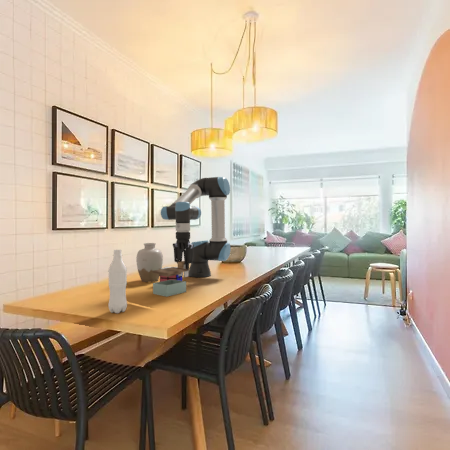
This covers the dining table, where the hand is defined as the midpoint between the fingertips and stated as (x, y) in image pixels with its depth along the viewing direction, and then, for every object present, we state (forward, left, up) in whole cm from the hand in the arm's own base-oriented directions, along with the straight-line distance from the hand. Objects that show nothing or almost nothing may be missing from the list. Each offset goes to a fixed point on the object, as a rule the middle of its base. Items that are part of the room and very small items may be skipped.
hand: (183, 276), depth 171 cm
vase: (-8, -37, -8) cm, 39 cm away
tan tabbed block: (+7, 0, +2) cm, 7 cm away
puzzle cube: (-6, -16, -8) cm, 19 cm away
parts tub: (+10, 0, -8) cm, 12 cm away
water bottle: (+44, +6, -8) cm, 45 cm away
